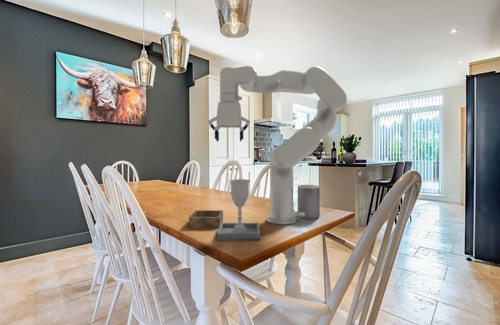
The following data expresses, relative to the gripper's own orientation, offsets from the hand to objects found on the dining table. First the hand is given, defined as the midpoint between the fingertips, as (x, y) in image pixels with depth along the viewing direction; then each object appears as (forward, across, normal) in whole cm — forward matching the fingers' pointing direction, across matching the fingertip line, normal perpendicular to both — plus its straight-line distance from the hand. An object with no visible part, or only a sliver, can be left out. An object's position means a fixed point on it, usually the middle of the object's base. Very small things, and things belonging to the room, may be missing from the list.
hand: (229, 141), depth 98 cm
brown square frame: (+33, +8, +4) cm, 35 cm away
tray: (+33, -5, +17) cm, 38 cm away
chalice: (+33, -5, +17) cm, 37 cm away
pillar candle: (+34, -35, -7) cm, 49 cm away
